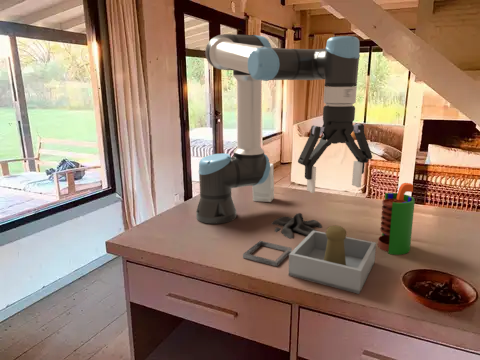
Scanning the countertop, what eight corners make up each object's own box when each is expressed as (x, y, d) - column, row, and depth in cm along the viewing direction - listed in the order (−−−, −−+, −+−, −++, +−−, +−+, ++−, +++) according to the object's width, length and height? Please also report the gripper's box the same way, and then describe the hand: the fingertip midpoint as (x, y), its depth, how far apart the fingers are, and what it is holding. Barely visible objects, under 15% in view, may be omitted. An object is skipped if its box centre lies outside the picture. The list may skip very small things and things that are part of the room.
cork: (336, 258, 102) (338, 221, 99) (350, 267, 96) (353, 229, 93) (318, 263, 99) (319, 225, 96) (332, 273, 94) (334, 233, 91)
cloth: (272, 218, 137) (272, 202, 135) (322, 220, 134) (323, 205, 132) (265, 242, 116) (265, 224, 114) (324, 246, 112) (325, 228, 111)
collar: (243, 257, 105) (242, 254, 104) (260, 244, 113) (260, 240, 113) (276, 266, 99) (276, 262, 99) (291, 251, 108) (291, 247, 108)
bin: (288, 275, 95) (289, 254, 93) (312, 248, 110) (312, 230, 108) (359, 294, 86) (360, 271, 84) (374, 262, 101) (376, 242, 99)
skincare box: (274, 198, 159) (274, 163, 155) (270, 203, 153) (271, 166, 149) (255, 196, 161) (255, 162, 157) (251, 201, 155) (251, 165, 151)
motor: (371, 240, 115) (377, 179, 110) (399, 239, 115) (405, 178, 110) (387, 255, 105) (393, 188, 100) (416, 253, 106) (424, 187, 100)
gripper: (300, 107, 81) (297, 198, 86) (392, 104, 89) (383, 187, 94) (285, 105, 88) (283, 189, 93) (371, 102, 95) (365, 180, 101)
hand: (334, 188), depth 94 cm, fingers open, 13 cm apart
